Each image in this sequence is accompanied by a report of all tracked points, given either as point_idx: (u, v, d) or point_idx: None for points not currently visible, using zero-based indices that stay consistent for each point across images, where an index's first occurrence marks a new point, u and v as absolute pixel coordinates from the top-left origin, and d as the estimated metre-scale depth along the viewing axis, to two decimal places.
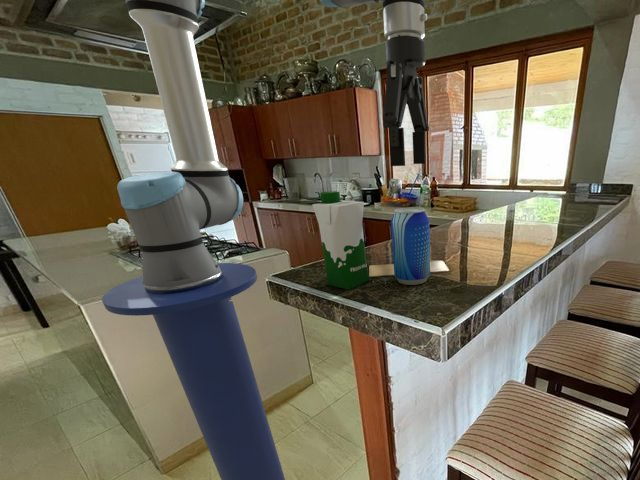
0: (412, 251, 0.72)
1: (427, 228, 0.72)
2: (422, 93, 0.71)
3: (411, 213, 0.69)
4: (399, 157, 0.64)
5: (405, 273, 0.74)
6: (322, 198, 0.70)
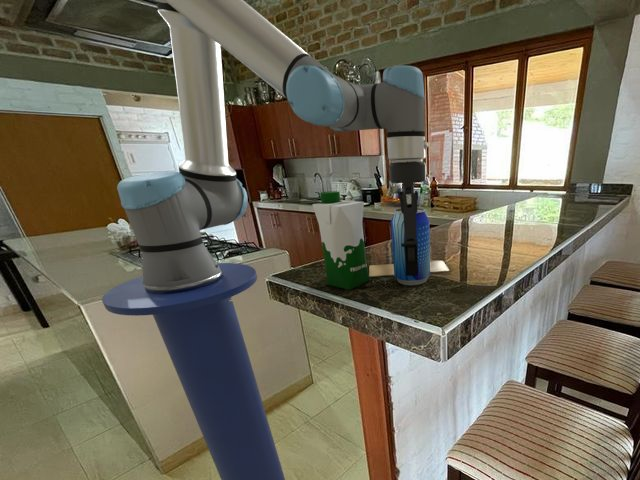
0: None
1: (427, 228, 0.72)
2: None
3: None
4: (414, 269, 0.72)
5: (404, 274, 0.74)
6: (322, 198, 0.70)
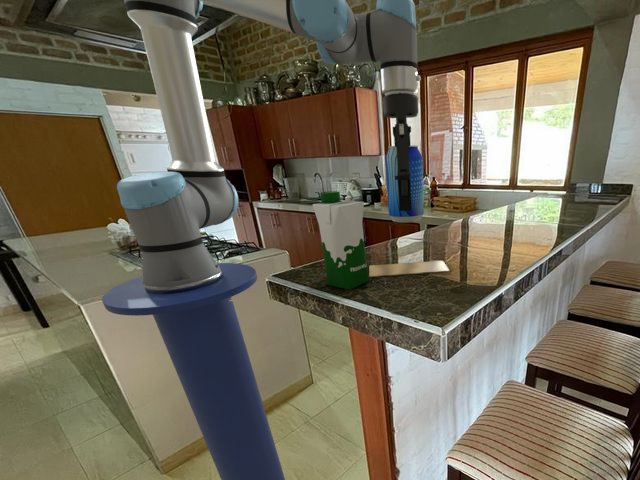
0: None
1: (420, 164, 0.74)
2: None
3: None
4: (407, 203, 0.75)
5: (398, 210, 0.76)
6: (322, 198, 0.70)
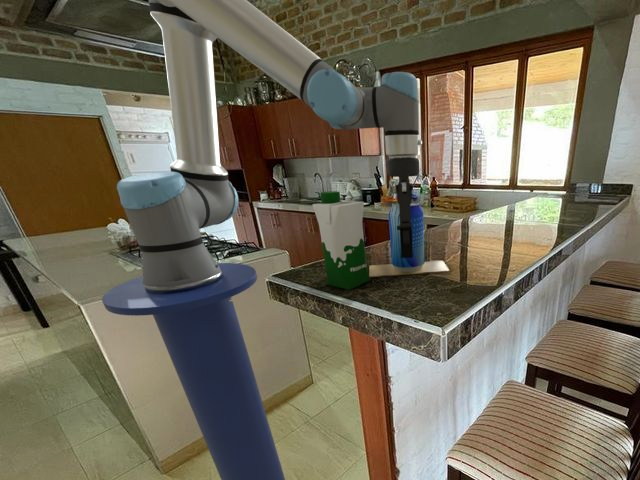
0: None
1: (421, 220, 0.79)
2: None
3: None
4: (409, 251, 0.77)
5: (401, 261, 0.82)
6: (322, 198, 0.70)
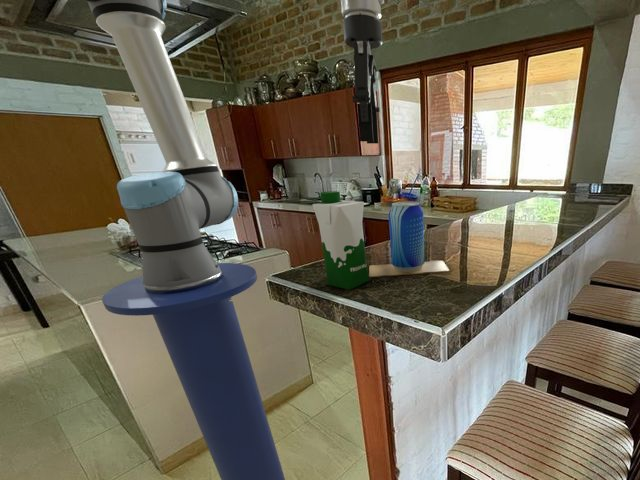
0: (408, 240, 0.79)
1: (421, 220, 0.79)
2: None
3: (407, 206, 0.77)
4: (368, 133, 0.67)
5: (401, 261, 0.82)
6: (322, 198, 0.70)
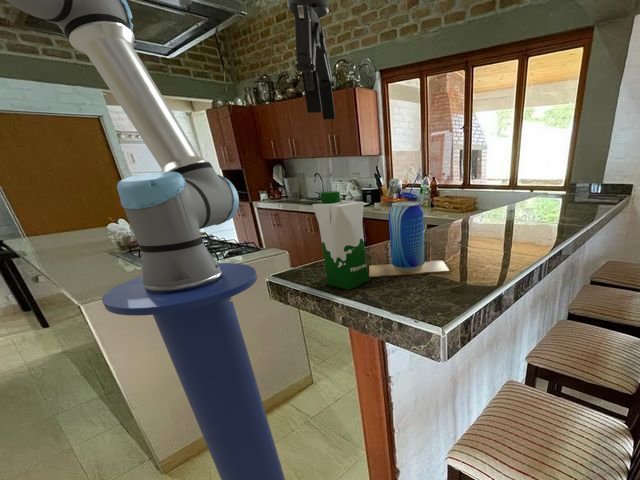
0: (408, 240, 0.79)
1: (421, 220, 0.79)
2: (325, 46, 0.72)
3: (407, 206, 0.77)
4: (315, 103, 0.65)
5: (401, 261, 0.82)
6: (322, 198, 0.70)
